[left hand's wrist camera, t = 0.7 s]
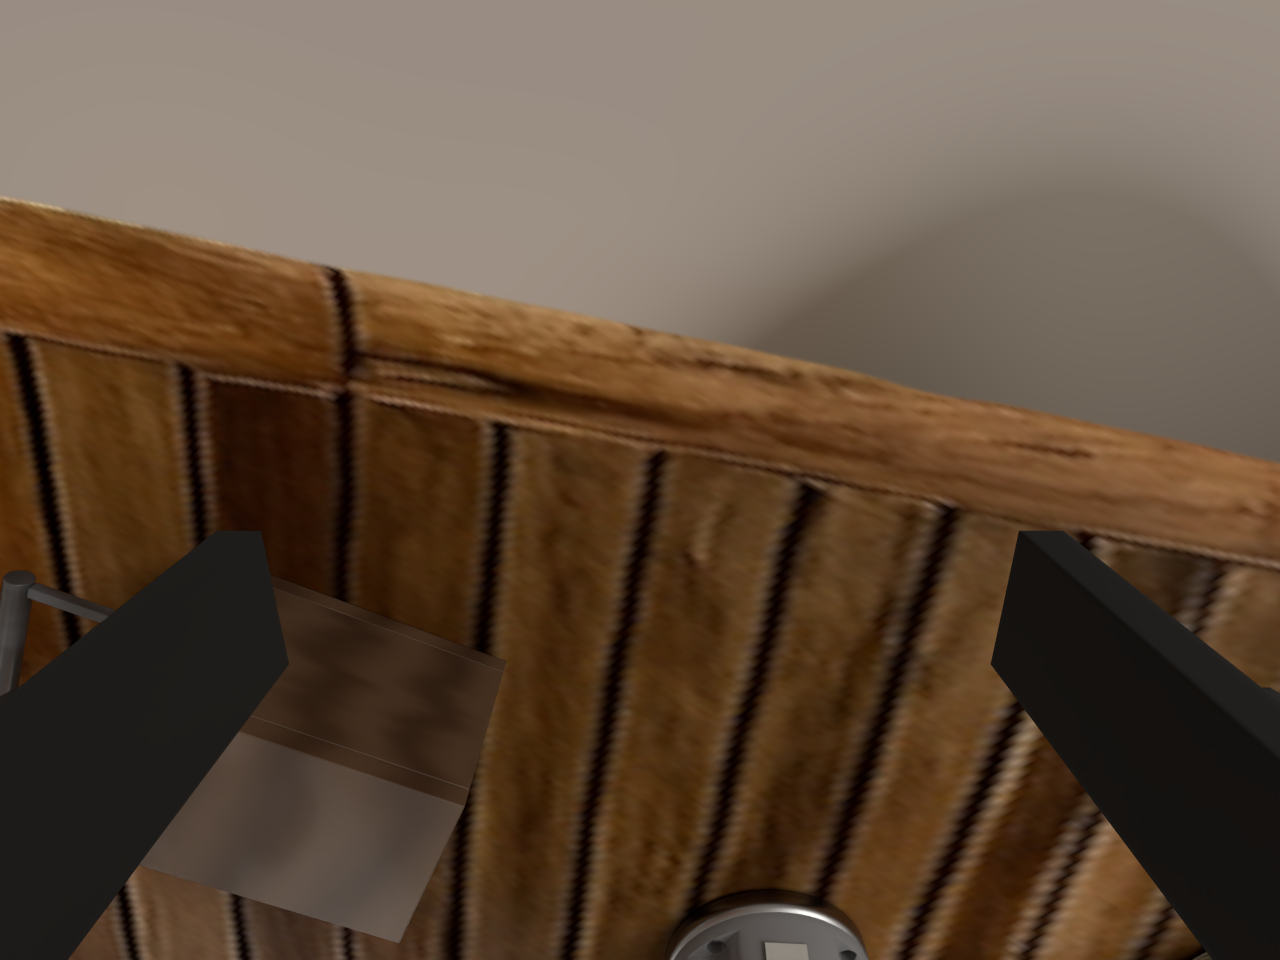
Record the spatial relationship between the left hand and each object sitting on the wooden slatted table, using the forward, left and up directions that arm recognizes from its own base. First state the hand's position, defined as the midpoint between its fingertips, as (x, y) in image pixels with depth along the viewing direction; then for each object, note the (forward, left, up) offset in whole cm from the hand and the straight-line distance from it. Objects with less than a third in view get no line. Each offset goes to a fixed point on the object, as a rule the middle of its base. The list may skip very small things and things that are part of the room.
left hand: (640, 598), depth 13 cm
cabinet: (-24, +16, -27) cm, 39 cm away
